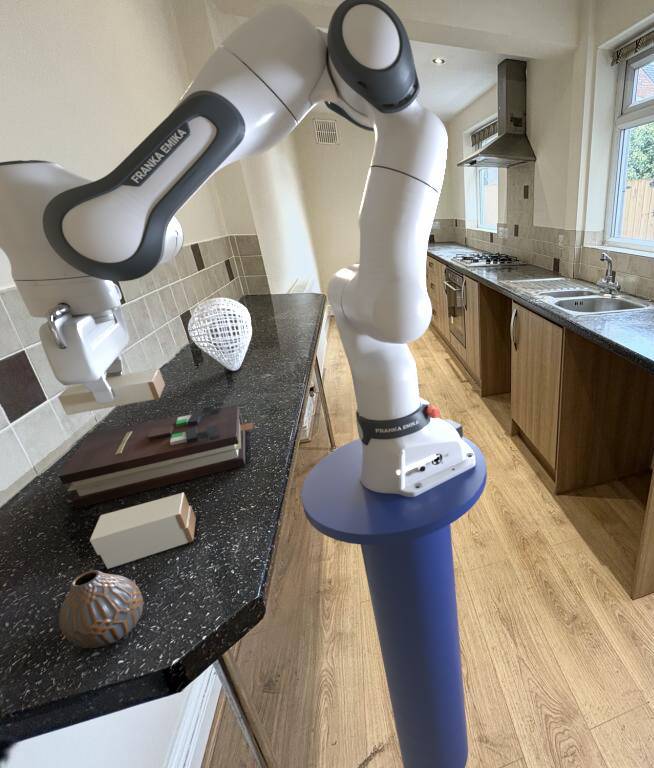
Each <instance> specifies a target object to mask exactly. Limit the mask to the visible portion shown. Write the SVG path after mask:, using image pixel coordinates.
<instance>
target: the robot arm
mask: <svg viewBox="0 0 654 768" xmlns="http://www.w3.org/2000/svg"><path fill="white" fill-rule="evenodd" d="M420 91H421V87H420V81H419V77H418V72H417V68H416V65H415V59H414V53H413V50H412V44H411V41H410V38H409V35H408V33H407V30H406V28H405V26H404V23H403V22H402V19H400V16H399V15H398V14H397V13H396V12H395V11H394V10H393V9H392V8H391V7H390V6H389V5H388V4H386V3H385V2H384V1H383V0H343V1H342V2H341V3H340V4H339V5H338V6H337V7H336V9H335V10H334V12H333V13H332V16H331V18H330V22H329V24H328V28H327V32H326V31H322V30H321V29H320V28H318V27H316V25H314V24H313V22H312V21H311V20H310V19H309V18H308V17H307V16H306V15H304V14H303V13H302V12H301V11H299V10H298V9H296V8H295V7H293V6H290V5H288V4H285V3H279V2H278V3H277V2H276V3H271V4H269V5H268V6H266V7H264V8H263V9H261V10H259V11H258V12H256V13H255V14H253V15H252V16H251V17H250V18H248V19H246V20H245V21H244V22H243V23H242V24H240V25H239V26H238V27H236V28H235V29H234V30H233V31H232V32H231V33H230V34H229V35H228V36H227V37H226V38H225V39H224V40H223V41H222V42H221V43H220V44H219V46H218V47H217V48H216V49H215V50H214V51H213V52H212V54H211V55H210V56H209V58H208V59H206V61H205V63H204V64H203V66H201V68H200V69H199V71H198V72H197V74H196V75H195V77H194V78H193V80H192V81H191V83H190V85H189V86H188V88H187V89H186V91H185V92H184V94H183V95H182V97H181V98H180V99H179V101H178V102H177V104H176V105H175V107H174V108H173V109H172V111H171V112H170V113H169V114H168V115H167V116H166V117H165V118H164V119H163V120H162V122H160V123H159V124H158V126H156V127H155V128H154V129H153V130H152V131H151V132H150V133H149V134H148V135H147V136H146V137H145V138H144V140H142V141H141V142H140V144H138V145H137V146H136V148H134V149H133V150H132V151H131V152H130V153H129V154H128V155H127V157H125V158H124V159H123V160H122V161H121V162H120V163H119V164H118V165H116V167H115V168H114V169H113V170H111V172H109V173H108V174H106V175H105V176H103V177H101V178H99V179H97V180H94V181H93V180H91V179H89V178H85V177H83V176H81V175H78V174H77V173H75V172H71V170H68V169H67V168H65V167H63V166H61V165H60V164H58V163H56V162H52V161H48V160H41V159H40V160H39V159H29V160H23V159H21V160H20V159H19V160H7V161H1V162H0V249H1V250H2V252H3V253H4V254H5V255H6V257H7V259H8V261H9V264H10V272H11V277H12V279H13V282H14V284H15V286H16V288H17V290H18V292H19V295H20V297H21V298H22V301H23V303H24V305H25V308H26V310H27V311H28V314H29V316H31V317H32V318H38V319H39V318H41V319H42V318H44V319H46V320H47V321H46V322H45V323H42V324H41V325H40V327H39V329H38V335H39V339H40V343H41V346H42V348H43V351H44V354H45V356H46V359H47V361H48V364H49V367H50V369H51V371H52V373H53V375H54V378H55V379H56V380H57V381H58V382H59V383H60V384H61V385H63V386H69V385H74V384H81V383H82V384H83V385H84V386H85V387H86V388H87V389H88V390H89V391H90V392H91V393H92V394H93V396H94V399H95V401H96V402H97V403H100V404H101V403H107V402H111V401H112V400H113V399H114V397H115V393H114V391H113V389H112V386H111V387H109V385H108V383H107V381H106V380H105V378H106V377H112V376H118V375H125V374H126V373H125V371H124V364H123V357H122V355H121V353H123V351H124V350H125V349H126V348H127V346H128V345H129V344H130V335H129V330H128V326H127V323H126V319H125V315H124V312H123V309H122V302H121V299H122V296H123V295H122V293H121V290H120V288H119V286H118V285H117V284H116V283H114V282H130V281H133V280H134V281H135V280H138V279H141V278H142V277H143V278H144V276H146V275H148V274H150V273H151V272H152V271H153V270H154V269H156V268H158V267H161V266H163V265H165V264H166V263H169V262H171V261H172V260H173V259H174V258H175V257H176V256H178V254H180V252H181V250H182V248H183V246H184V241H185V240H184V236H185V235H184V231H183V228H182V225H181V223H180V221H179V220H178V218H177V216H176V214H178V213H179V212H180V211H181V209H182V208H183V207H185V205H186V204H187V203H188V202H189V201H190V200H191V199H192V198H193V196H195V194H197V192H198V191H199V190H200V189H201V188H202V187H203V186H204V184H206V183H207V181H208V180H210V178H211V177H212V176H213V175H215V174H216V173H218V171H220V170H221V169H223V168H224V167H226V166H227V165H230V164H232V163H234V162H237V161H241V160H244V159H248V158H252V157H253V158H254V157H258V156H262V155H264V154H266V153H267V152H269V151H270V150H271V149H273V148H274V147H276V146H277V145H279V144H280V143H281V142H282V141H284V139H286V138H287V137H288V136H289V135H290V134H291V133H292V132H293V131H294V129H296V127H297V126H298V125H299V124H300V123H301V121H302V120H303V119H304V118H305V117H306V116H307V114H308V113H309V112H310V111H311V110H312V109H314V107H316V106H317V105H318V104H321V103H323V102H324V104H325V106H326V108H328V109H329V110H330V111H331V112H333V113H336V114H337V115H339V116H341V117H342V118H344V119H345V120H347V121H348V122H350V123H351V124H353V126H356V127H358V128H360V129H361V130H364V131H367V132H372V133H374V148H373V152H372V156H371V161H370V165H369V169H368V172H367V177H366V181H365V187H364V190H363V194H362V200H361V203H360V207H359V211H358V215H357V224H358V228H359V229H358V230H359V260H358V263H355V264H351V265H348V266H345V267H343V268H341V269H339V270H337V271H336V272H335V273H333V275H332V276H331V277H330V279H329V281H328V284H327V289H326V295H327V299H328V302H329V306H330V308H331V310H332V313H333V317H334V321H335V324H336V327H337V328H336V329H337V331H338V334H339V338H340V341H341V344H342V347H343V350H344V353H345V357H346V359H347V362H348V366H349V370H350V374H351V378H352V384H353V385H352V386H353V390H354V394H355V402H356V407H357V408H356V411H355V416H356V420H355V422H356V427H357V428H356V429H357V433H358V437H359V438H360V440H361V441H362V467H361V473H360V481H361V483H362V484H363V486H365V487H366V488H367V489H369V490H371V491H374V492H378V493H390V494H400V495H403V496H406V497H415V496H417V495H419V494H421V493H423V492H425V491H427V490H429V489H431V488H433V487H435V486H437V485H439V484H441V483H443V482H445V481H447V480H449V479H451V478H453V477H455V476H457V475H459V474H461V473H463V472H465V471H467V470H469V469H471V468H472V467H474V466H475V464H476V459H475V455H474V452H473V451H472V449H471V448H470V447H469V446H468V445H467V444H466V443H465V442H464V441H463V440H461V438H462V437H464V434H463V433H464V432H463V425H462V424H459V423H458V422H456V421H453V420H451V419H448V418H446V419H442V418H439V416H440V415H441V414H440V413H441V411H440V410H439V408H437V406H435V405H431V403H430V402H429V401H427V400H426V399H424V398H422V396H420V389H419V387H420V386H419V379H418V378H419V377H418V369H417V367H418V366H417V363H416V360H415V358H414V357H413V355H412V352H411V350H410V348H409V346H408V344H410V343H413V342H415V341H416V340H418V339H419V338H421V337H422V336H423V335H424V334H425V332H426V331H427V330H428V328H429V326H430V324H431V321H432V317H433V308H432V303H431V299H430V297H429V294H428V292H427V291H428V290H427V252H428V245H429V238H430V233H431V230H432V226H433V222H434V218H435V214H436V209H437V205H438V201H439V197H440V194H441V189H442V186H443V181H444V175H445V169H446V160H447V149H448V133H447V130H446V127H445V125H444V123H443V121H442V120H441V118H439V117H438V115H436V114H435V113H434V112H433V111H432V110H430V109H429V108H427V107H425V106H423V105H422V104H420V103H419V102H418V101H417V97H418V95H419V94H420ZM359 438H358V439H359Z"/></svg>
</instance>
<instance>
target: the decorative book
mask: <svg viewBox="0 0 654 768" xmlns="http://www.w3.org/2000/svg"><path fill="white" fill-rule="evenodd" d="M224 403H225V401H222V402H215V403H214V405H213V406H205V407H204V408H203V410H199V411H193V412H191V413H187V414H182V415H175V416H171V417H166V418H160V419H155V420H151V421H145V422H140V423H134V424H129V425H124V426H120V427H119V426H118V427H114V428H108V429H103V430H98V431H94V432H88V434H87V435H86V437H85V438H84V439H83V441H82V443H81V444H80V445H79V447H78V448H77V450H76V451H75V452H74V453H73V455H72V456H71V458H70V460H69V461H68V462H67V464H66V465H65V467H64V468H63V469H62V471H61V472H60V474H59V475H58V478H59V480H60V482H61V483H62V485H67V484H70V486H69V487H68V489H67V491H66V492H71V491H75V490H76V492H75V494H74V496H73V498H71V503H72V504H73V506H74V508H75V509H79V508H83V507H87V506H92V505H96V504H98V503H103V502H106V501H107V502H108V501H111V500H115V499H118V498H123V497H126V496H130V495H135V494H137V493H141V492H142V493H143V492H146V491H150V490H154V489H158V488H160V487H165V486H169V485H175V484H176V483H177V484H178V483H181V482H185V481H188V480H192V479H193V480H194V479H197V478H201V477H204V476H208V475H212V474H216V473H220V472H224V471H228V470H232V469H236V468H239V467H243V466H246V431H248V430H253V429H254V424H255V422H248V423H244V422H243V421H244V420H243V418H242V415H241V410H240V408H239V404H233V405H228V406H223V405H224ZM219 406H222V407H219ZM214 407H217V408H214Z"/></svg>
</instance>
